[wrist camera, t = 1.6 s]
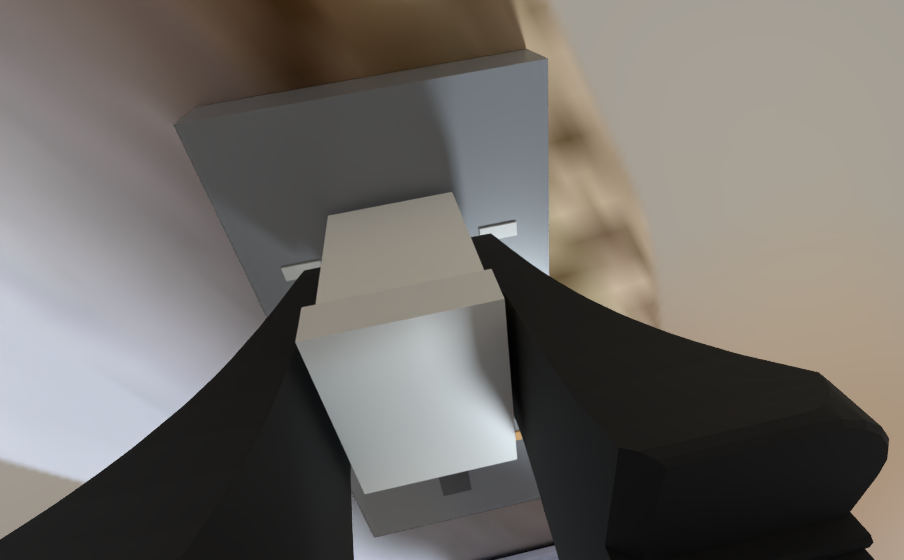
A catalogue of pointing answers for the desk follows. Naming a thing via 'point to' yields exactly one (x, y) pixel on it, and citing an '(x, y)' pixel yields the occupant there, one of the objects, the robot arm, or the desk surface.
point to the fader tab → (409, 345)
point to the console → (385, 201)
